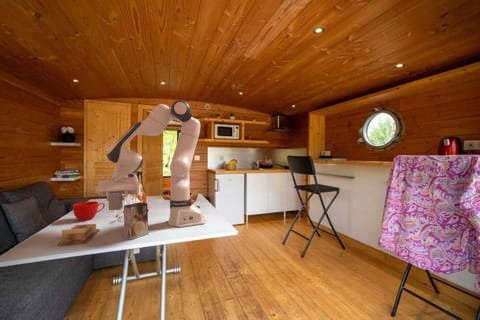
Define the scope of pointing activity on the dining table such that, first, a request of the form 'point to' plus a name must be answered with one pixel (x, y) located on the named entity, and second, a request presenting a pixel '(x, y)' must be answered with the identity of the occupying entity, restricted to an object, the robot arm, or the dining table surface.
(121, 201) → the grey block
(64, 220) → the dining table surface
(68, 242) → the display stand
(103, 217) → the dining table surface
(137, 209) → the coffee box
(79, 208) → the red cup
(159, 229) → the dining table surface
